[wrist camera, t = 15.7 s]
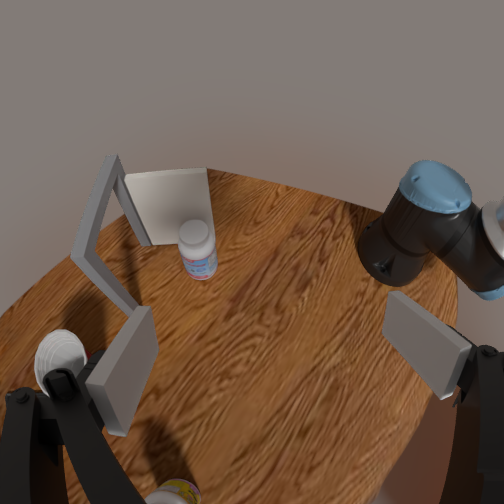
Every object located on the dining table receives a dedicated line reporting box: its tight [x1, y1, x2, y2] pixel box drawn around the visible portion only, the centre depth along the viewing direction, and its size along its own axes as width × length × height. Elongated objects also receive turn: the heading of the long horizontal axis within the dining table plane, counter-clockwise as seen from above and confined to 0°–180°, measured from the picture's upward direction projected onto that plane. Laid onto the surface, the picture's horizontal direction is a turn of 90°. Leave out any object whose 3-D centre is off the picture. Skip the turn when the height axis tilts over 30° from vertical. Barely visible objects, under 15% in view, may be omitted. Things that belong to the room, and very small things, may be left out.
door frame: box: [70, 154, 151, 317], centre depth 41 cm, size 2×18×22 cm, turn 4°
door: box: [124, 167, 216, 245], centre depth 47 cm, size 13×2×18 cm, turn 94°
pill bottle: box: [178, 220, 218, 280], centre depth 47 cm, size 6×6×11 cm
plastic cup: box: [34, 330, 92, 396], centre depth 35 cm, size 11×11×12 cm
